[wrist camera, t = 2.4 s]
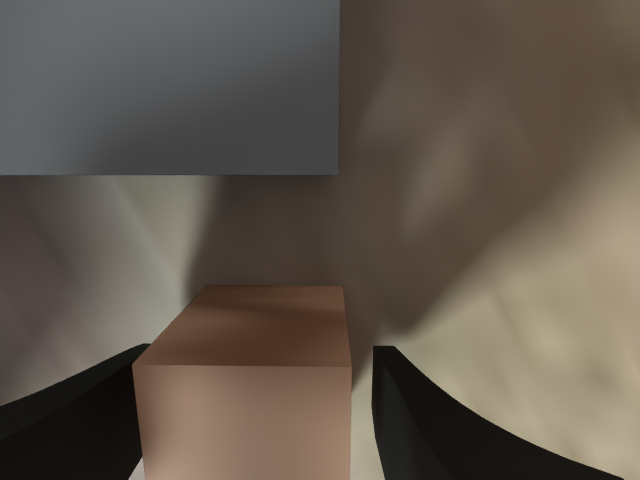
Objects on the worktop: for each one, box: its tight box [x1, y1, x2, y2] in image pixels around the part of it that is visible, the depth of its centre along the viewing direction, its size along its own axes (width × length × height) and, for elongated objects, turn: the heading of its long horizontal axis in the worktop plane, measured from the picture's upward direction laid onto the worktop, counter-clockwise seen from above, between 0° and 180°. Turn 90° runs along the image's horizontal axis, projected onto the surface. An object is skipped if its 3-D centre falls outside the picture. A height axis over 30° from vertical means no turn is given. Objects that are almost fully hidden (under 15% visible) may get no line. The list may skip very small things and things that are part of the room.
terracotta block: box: [132, 285, 352, 480], centre depth 11 cm, size 4×4×5 cm
